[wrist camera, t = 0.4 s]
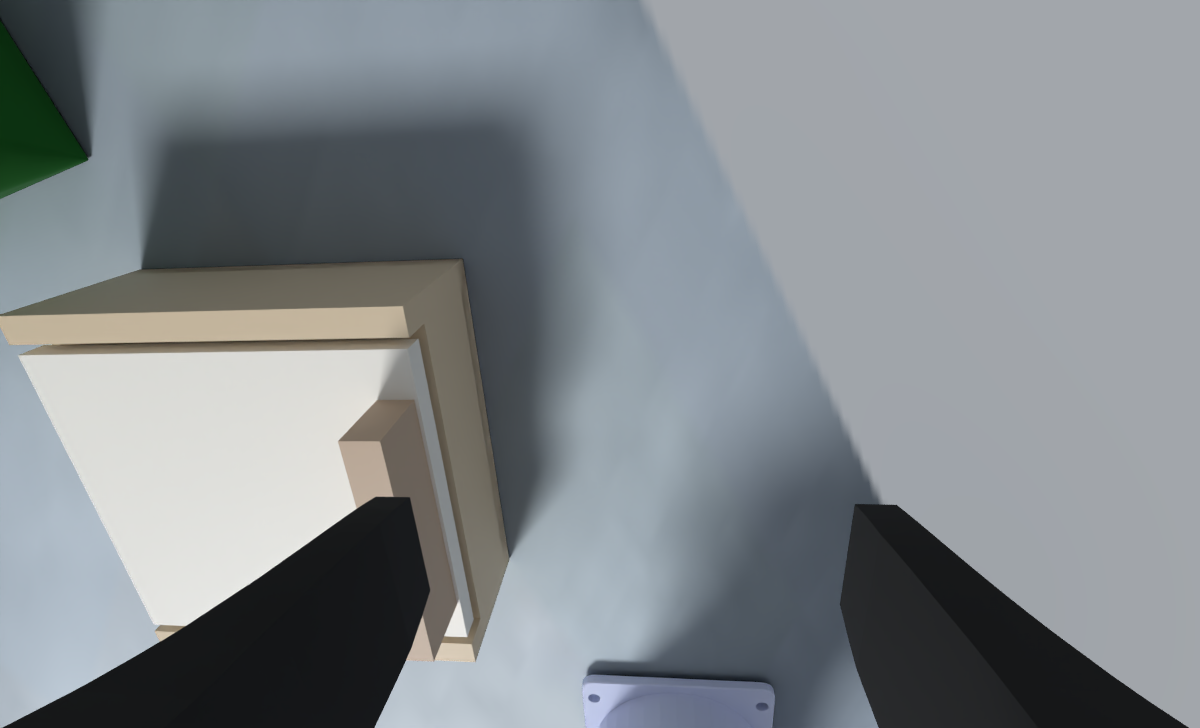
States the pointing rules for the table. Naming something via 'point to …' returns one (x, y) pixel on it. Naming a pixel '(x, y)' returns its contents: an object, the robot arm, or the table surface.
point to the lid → (250, 460)
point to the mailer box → (320, 312)
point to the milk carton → (29, 126)
